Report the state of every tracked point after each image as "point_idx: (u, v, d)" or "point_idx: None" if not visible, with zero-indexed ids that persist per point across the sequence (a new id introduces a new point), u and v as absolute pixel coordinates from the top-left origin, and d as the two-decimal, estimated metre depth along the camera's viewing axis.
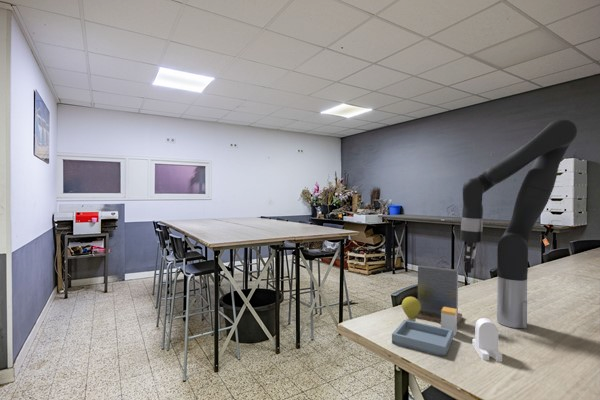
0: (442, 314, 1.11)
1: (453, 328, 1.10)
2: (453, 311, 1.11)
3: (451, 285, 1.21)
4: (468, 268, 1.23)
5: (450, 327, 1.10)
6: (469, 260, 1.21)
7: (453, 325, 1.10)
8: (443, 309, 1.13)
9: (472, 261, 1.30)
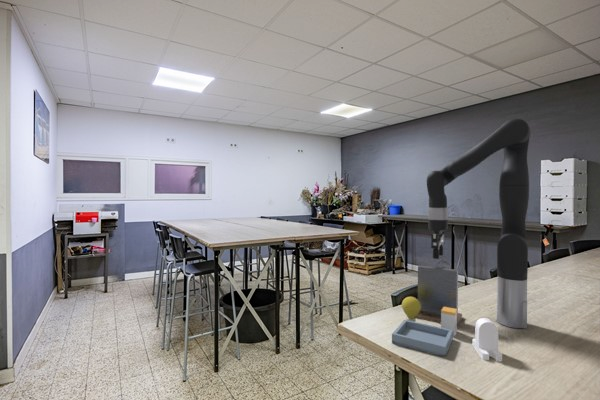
0: (442, 314, 1.11)
1: (453, 328, 1.10)
2: (453, 311, 1.11)
3: (451, 285, 1.21)
4: (436, 254, 1.31)
5: (450, 327, 1.10)
6: (436, 247, 1.29)
7: (453, 325, 1.10)
8: (443, 309, 1.13)
9: (441, 248, 1.38)
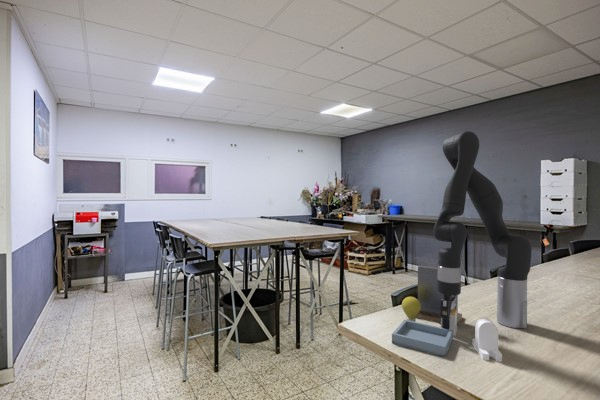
0: None
1: (453, 328, 1.10)
2: (453, 311, 1.11)
3: None
4: (446, 325, 1.08)
5: (450, 327, 1.10)
6: (446, 317, 1.06)
7: (453, 325, 1.10)
8: None
9: None
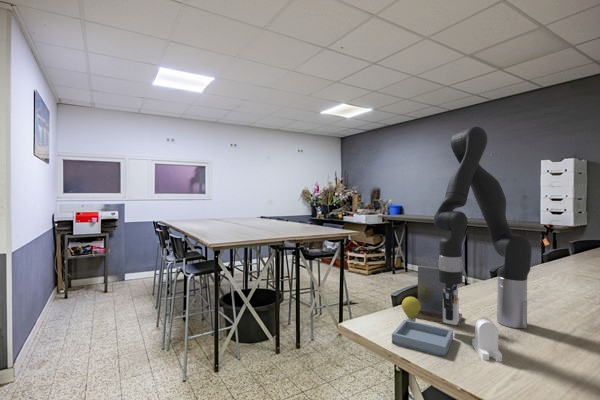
0: None
1: (455, 317, 1.09)
2: (455, 300, 1.10)
3: None
4: (449, 315, 1.09)
5: None
6: (450, 307, 1.07)
7: (455, 314, 1.09)
8: None
9: None
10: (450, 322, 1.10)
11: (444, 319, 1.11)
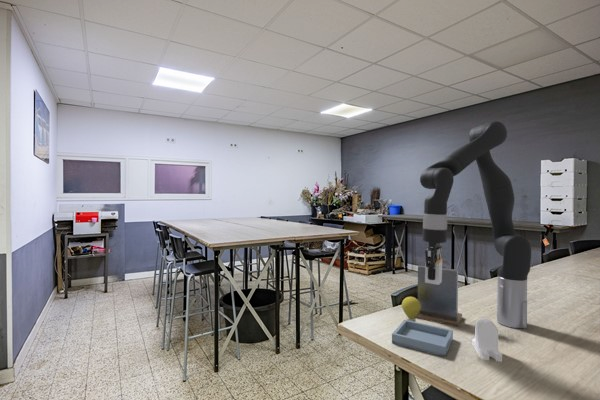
0: None
1: (437, 276, 1.06)
2: (438, 259, 1.07)
3: (451, 285, 1.21)
4: (431, 275, 1.06)
5: None
6: (431, 265, 1.04)
7: (437, 273, 1.06)
8: None
9: None
10: (432, 282, 1.07)
11: (426, 279, 1.08)
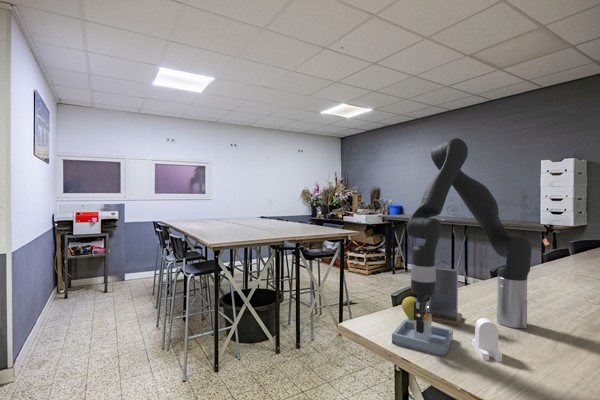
0: None
1: (426, 334, 1.03)
2: (427, 316, 1.04)
3: (451, 285, 1.21)
4: (420, 328, 1.02)
5: (423, 333, 1.03)
6: (419, 319, 1.00)
7: (426, 331, 1.03)
8: None
9: None
10: None
11: (415, 336, 1.05)
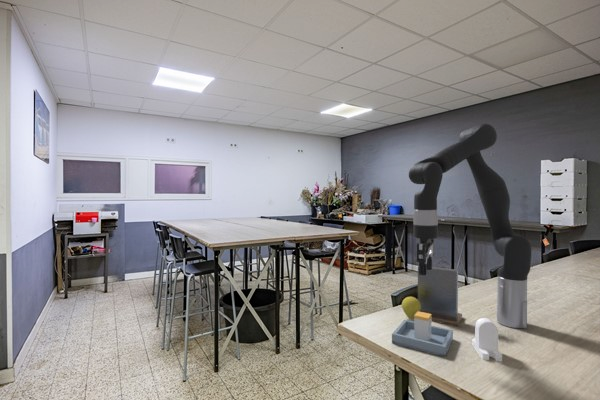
0: (415, 319, 1.05)
1: (426, 334, 1.03)
2: (427, 316, 1.04)
3: (451, 285, 1.21)
4: (422, 270, 1.02)
5: (423, 333, 1.03)
6: (422, 260, 1.00)
7: (426, 331, 1.03)
8: (416, 314, 1.06)
9: (430, 261, 1.09)
10: None
11: (415, 336, 1.05)
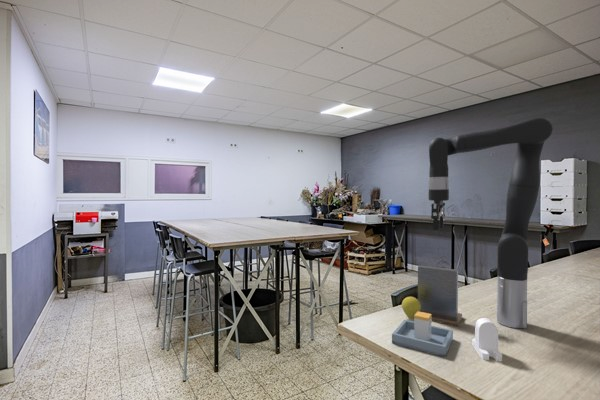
0: (415, 319, 1.05)
1: (426, 334, 1.03)
2: (427, 316, 1.04)
3: (451, 285, 1.21)
4: (436, 225, 1.25)
5: (423, 333, 1.03)
6: (436, 217, 1.23)
7: (426, 331, 1.03)
8: (416, 314, 1.06)
9: (441, 221, 1.32)
10: None
11: (415, 336, 1.05)
